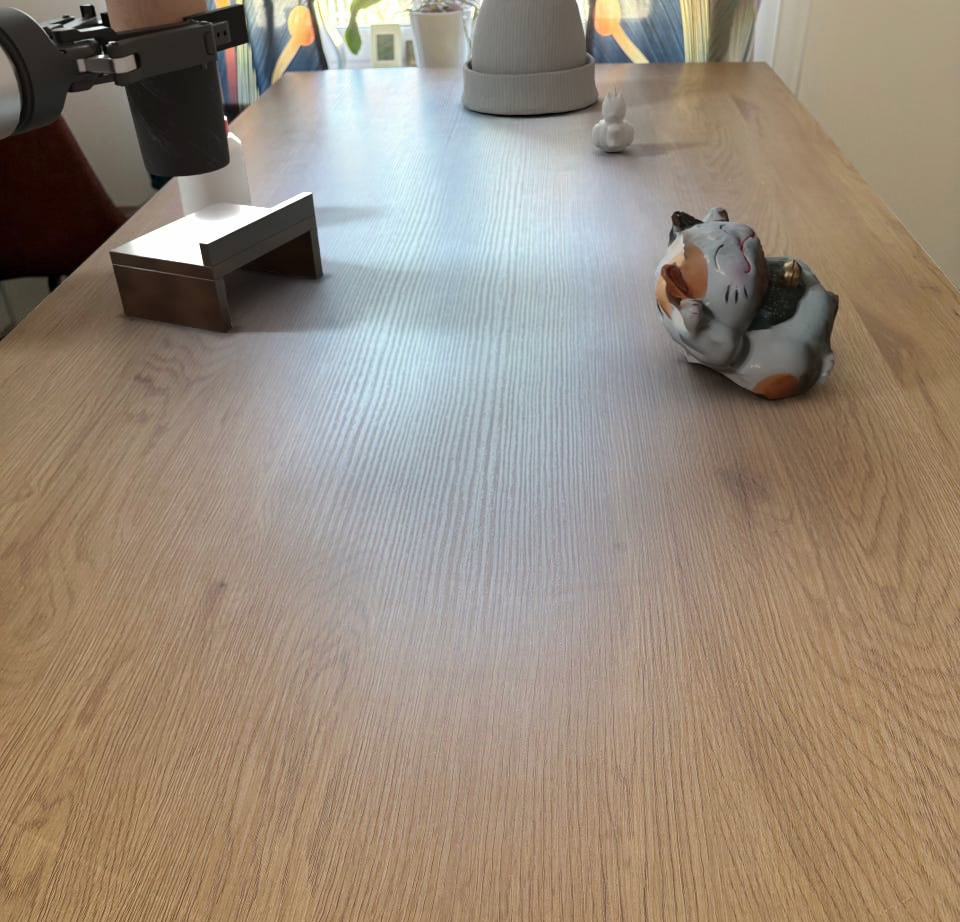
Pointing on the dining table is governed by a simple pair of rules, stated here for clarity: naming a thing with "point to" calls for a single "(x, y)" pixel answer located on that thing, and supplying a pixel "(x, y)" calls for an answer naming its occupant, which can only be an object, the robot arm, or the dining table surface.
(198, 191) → the pill bottle
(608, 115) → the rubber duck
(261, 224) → the shelf
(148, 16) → the travel mug
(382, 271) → the dining table surface
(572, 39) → the beanie hat
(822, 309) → the lucky cat figurine
